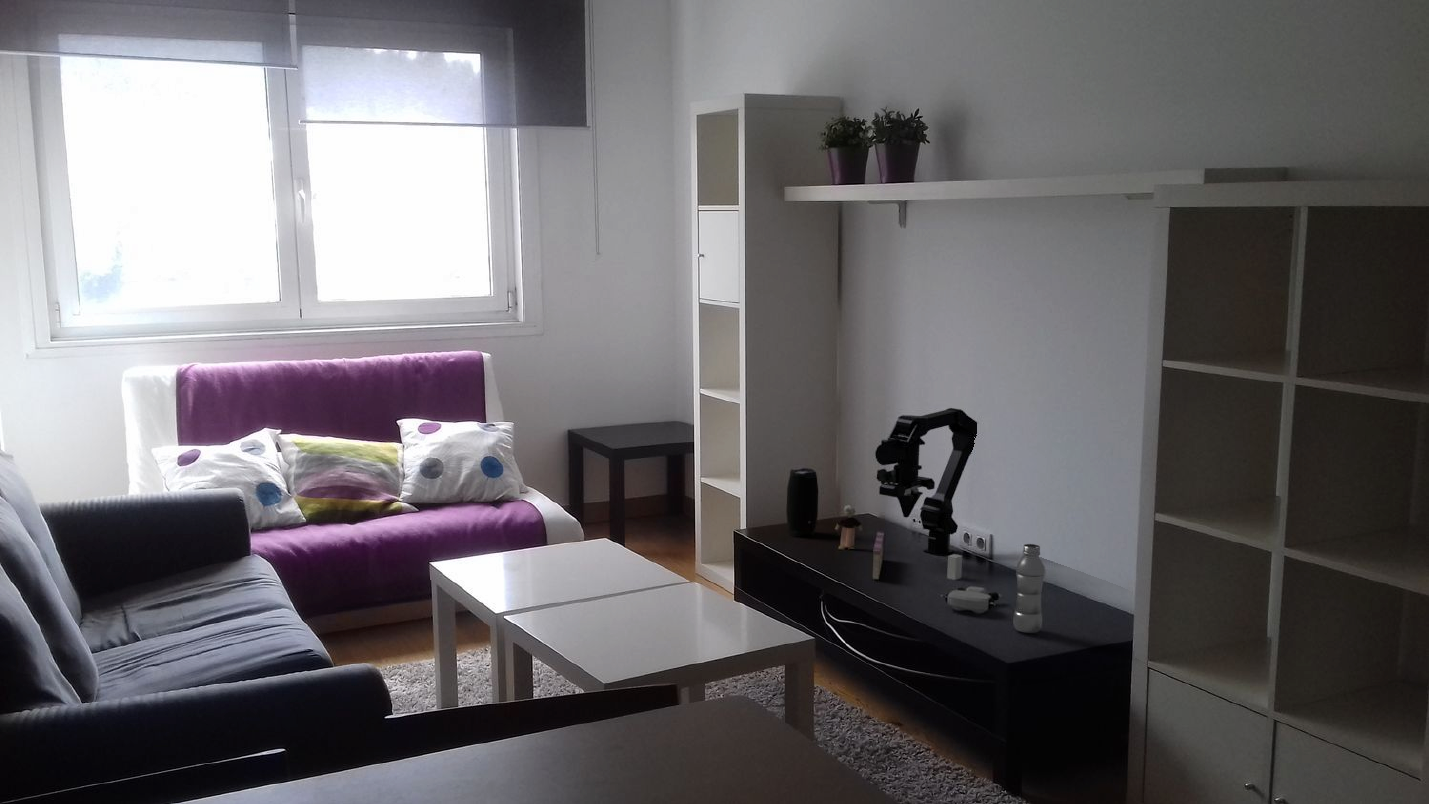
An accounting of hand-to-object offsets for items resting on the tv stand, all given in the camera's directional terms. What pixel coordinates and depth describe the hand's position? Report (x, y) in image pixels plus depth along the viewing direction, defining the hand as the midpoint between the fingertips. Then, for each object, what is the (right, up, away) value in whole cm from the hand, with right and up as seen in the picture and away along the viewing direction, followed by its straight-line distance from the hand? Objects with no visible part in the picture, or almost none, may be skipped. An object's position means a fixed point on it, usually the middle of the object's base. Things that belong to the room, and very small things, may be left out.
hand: (906, 517), depth 334 cm
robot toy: (+9, -18, -42) cm, 47 cm away
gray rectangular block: (+10, -14, -16) cm, 24 cm away
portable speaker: (-27, -8, +28) cm, 40 cm away
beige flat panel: (-9, -13, -10) cm, 18 cm away
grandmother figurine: (-15, -10, +13) cm, 22 cm away
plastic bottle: (+18, -21, -60) cm, 66 cm away
